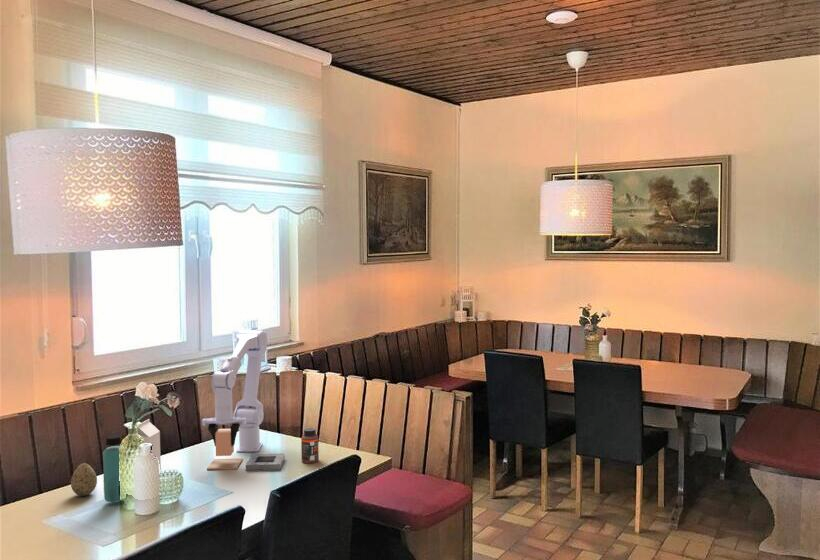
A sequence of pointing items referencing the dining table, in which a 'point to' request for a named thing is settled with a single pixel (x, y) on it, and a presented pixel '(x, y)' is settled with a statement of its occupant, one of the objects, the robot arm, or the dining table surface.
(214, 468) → the walnut pad
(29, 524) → the dining table surface
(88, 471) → the decorative egg
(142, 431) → the milk carton
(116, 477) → the beverage bottle
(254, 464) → the square socket
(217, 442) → the terracotta block
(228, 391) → the robot arm
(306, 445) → the supplement bottle
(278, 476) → the dining table surface
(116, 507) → the dining table surface
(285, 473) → the dining table surface
